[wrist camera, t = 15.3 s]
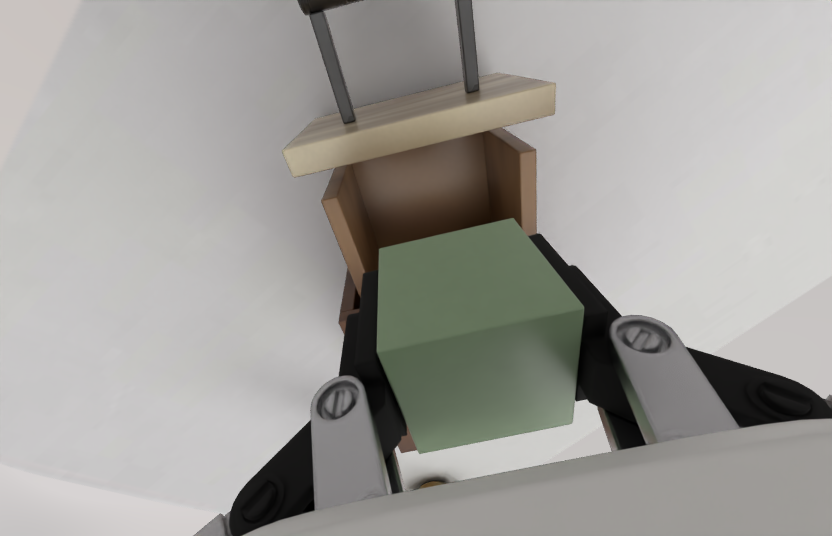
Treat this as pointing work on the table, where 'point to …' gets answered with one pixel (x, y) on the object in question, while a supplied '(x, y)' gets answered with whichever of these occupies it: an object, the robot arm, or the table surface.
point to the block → (477, 336)
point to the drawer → (421, 153)
